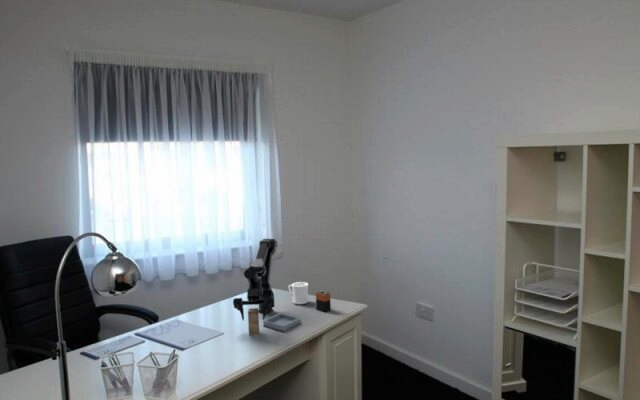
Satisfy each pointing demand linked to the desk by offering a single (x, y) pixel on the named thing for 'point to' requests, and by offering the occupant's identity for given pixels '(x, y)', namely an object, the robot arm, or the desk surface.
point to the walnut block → (253, 321)
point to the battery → (323, 301)
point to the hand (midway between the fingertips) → (253, 320)
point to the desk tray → (282, 322)
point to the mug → (299, 293)
